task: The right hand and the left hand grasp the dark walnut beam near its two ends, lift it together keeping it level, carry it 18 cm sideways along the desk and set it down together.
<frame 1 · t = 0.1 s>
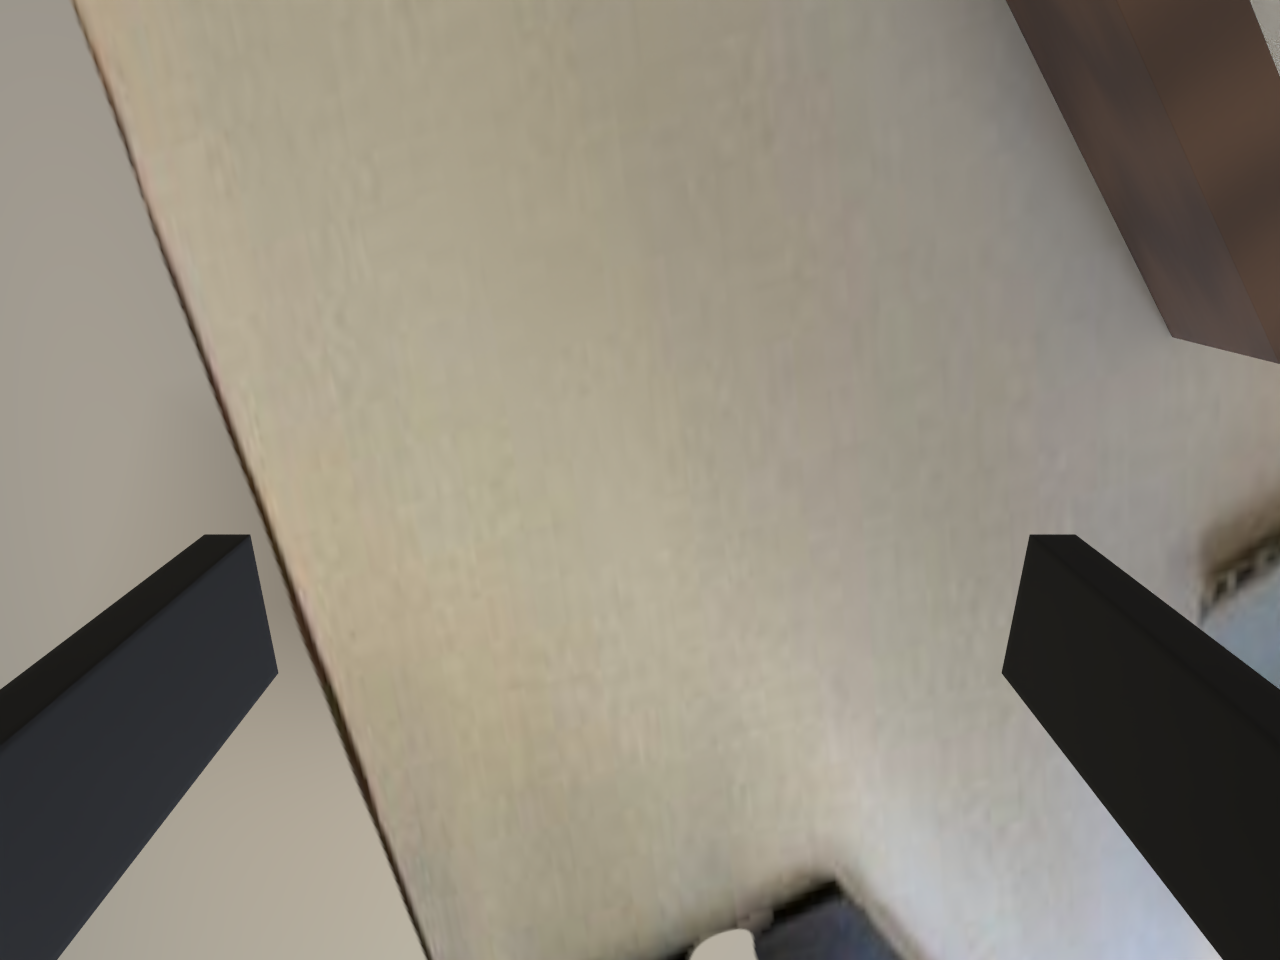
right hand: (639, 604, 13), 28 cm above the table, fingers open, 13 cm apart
walnut beam: (1084, 52, 34), on the table
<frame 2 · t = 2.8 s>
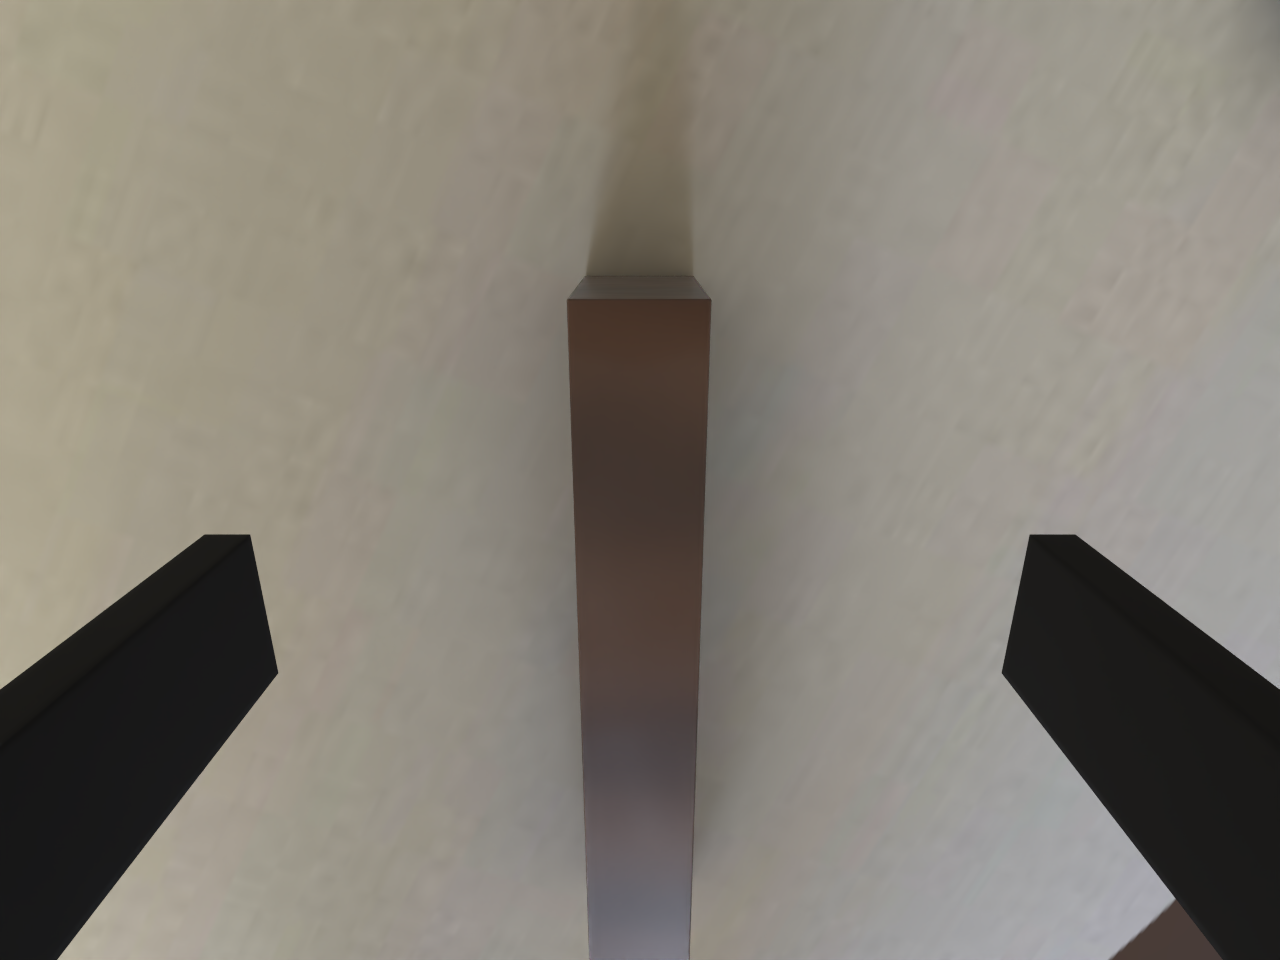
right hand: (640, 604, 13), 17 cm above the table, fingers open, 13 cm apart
walnut beam: (639, 631, 32), on the table
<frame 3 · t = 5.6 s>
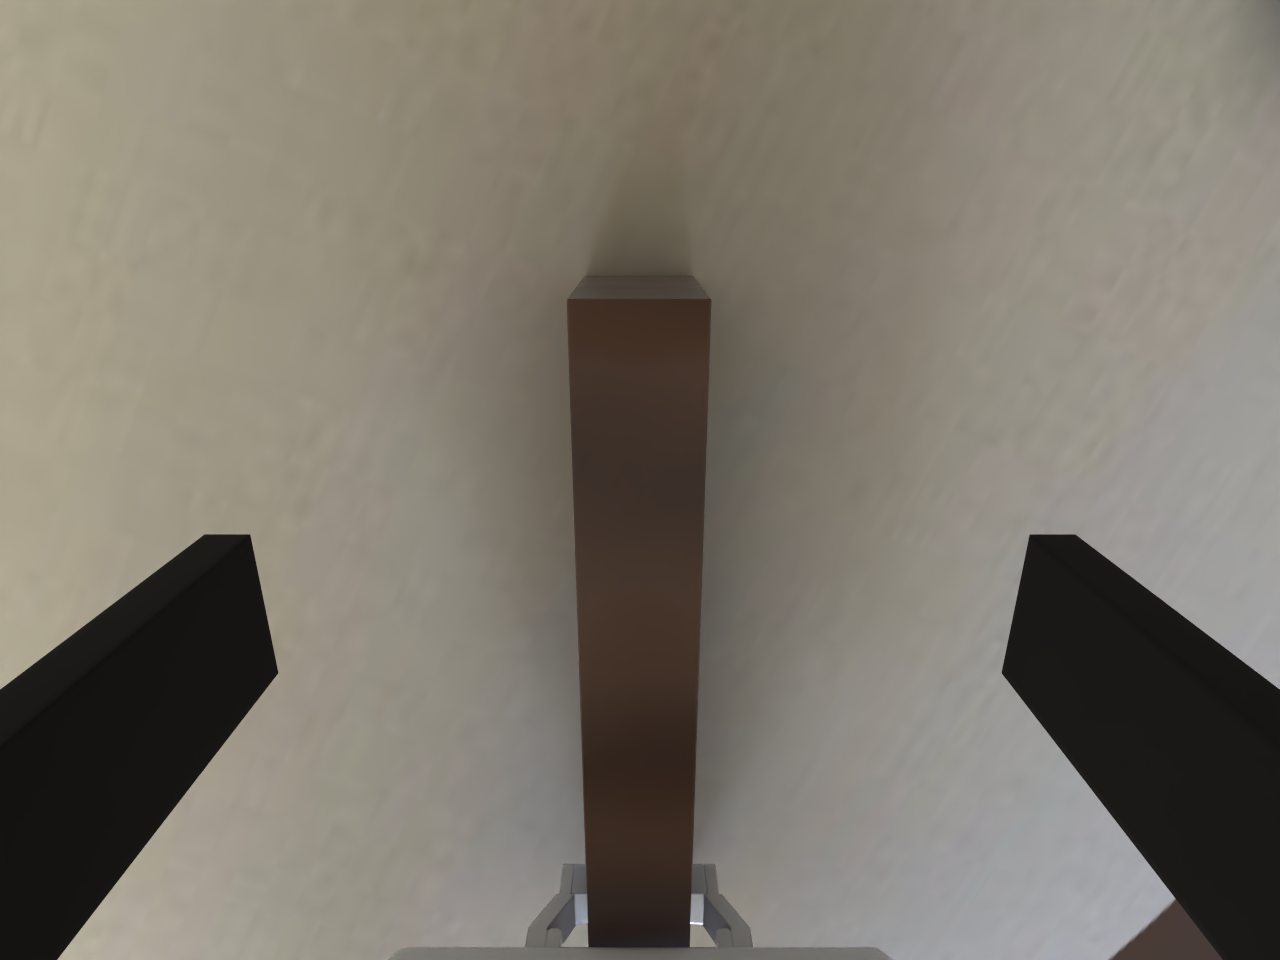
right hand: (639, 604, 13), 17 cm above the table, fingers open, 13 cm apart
walnut beam: (639, 631, 32), on the table, touching left hand
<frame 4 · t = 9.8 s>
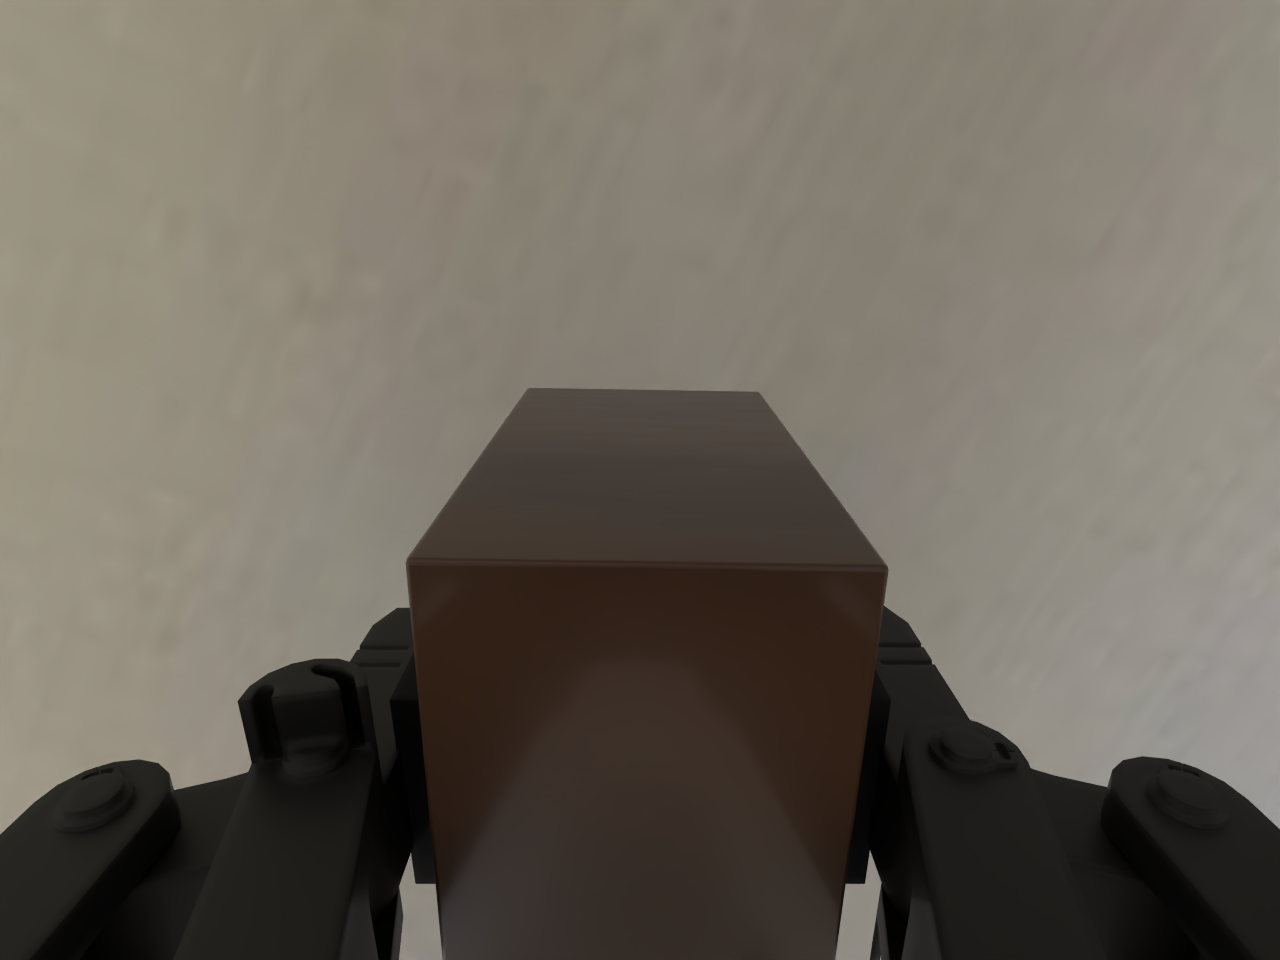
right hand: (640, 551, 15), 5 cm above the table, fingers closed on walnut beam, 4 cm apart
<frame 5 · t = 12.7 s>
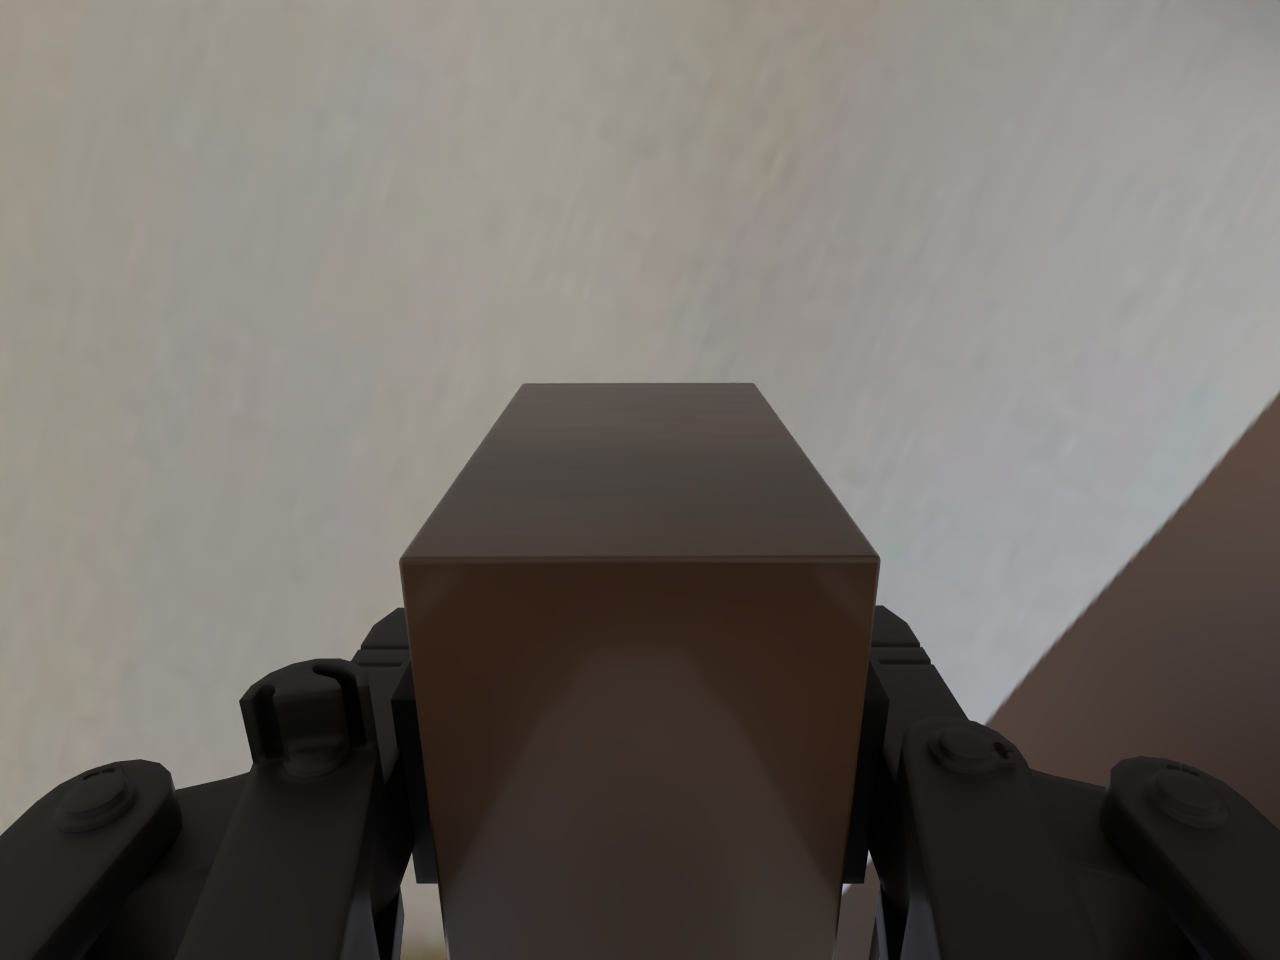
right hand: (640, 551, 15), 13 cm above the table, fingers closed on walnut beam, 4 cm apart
when the left hand's fingers open (4 cm above the table, at t = 15.7 s): walnut beam drops 1 cm, on the table.
when the right hand's fingers open (0 cm above the table, at t = 15.7 s): walnut beam drops 1 cm, on the table.
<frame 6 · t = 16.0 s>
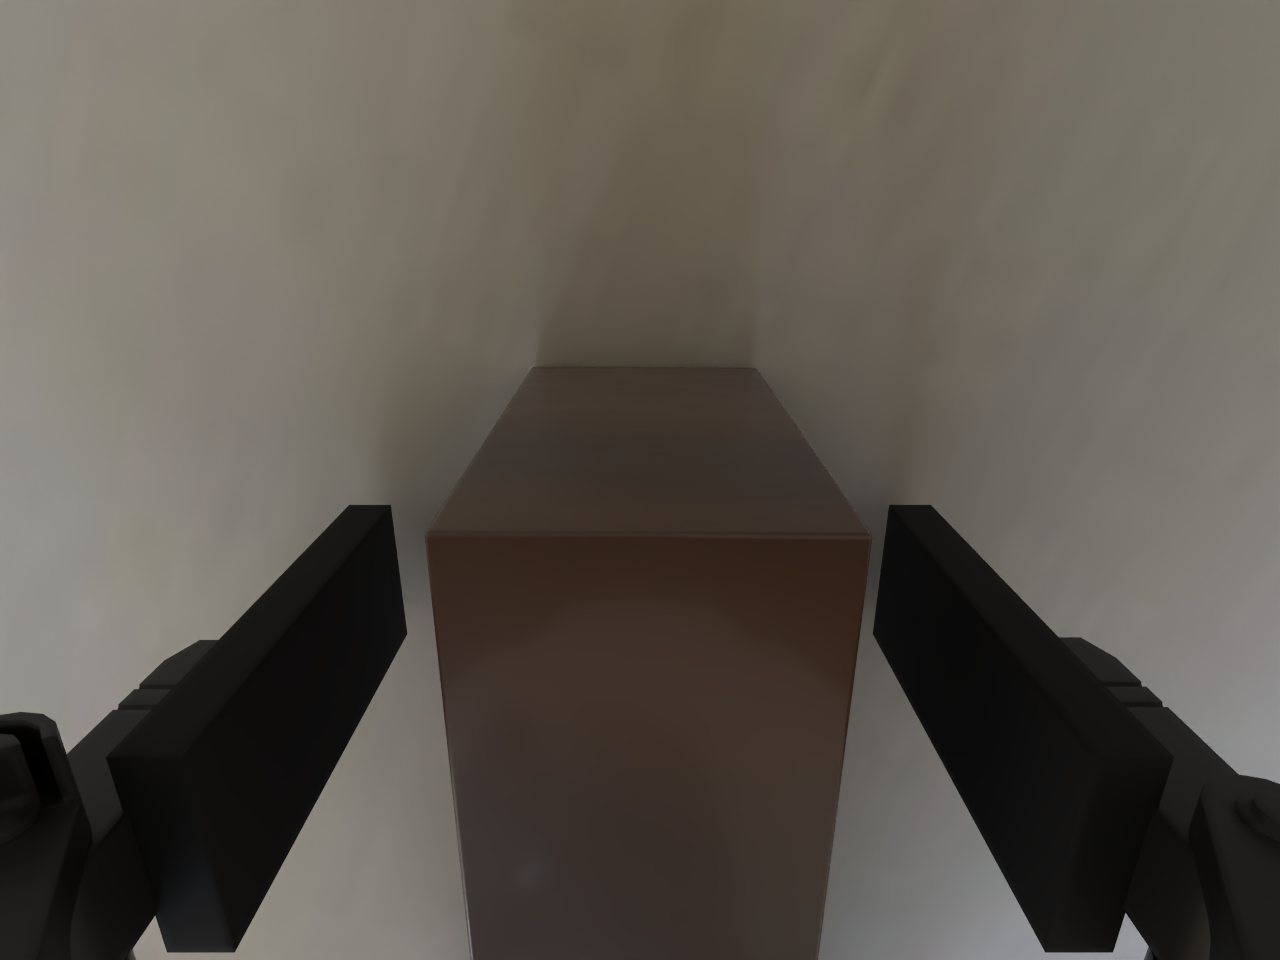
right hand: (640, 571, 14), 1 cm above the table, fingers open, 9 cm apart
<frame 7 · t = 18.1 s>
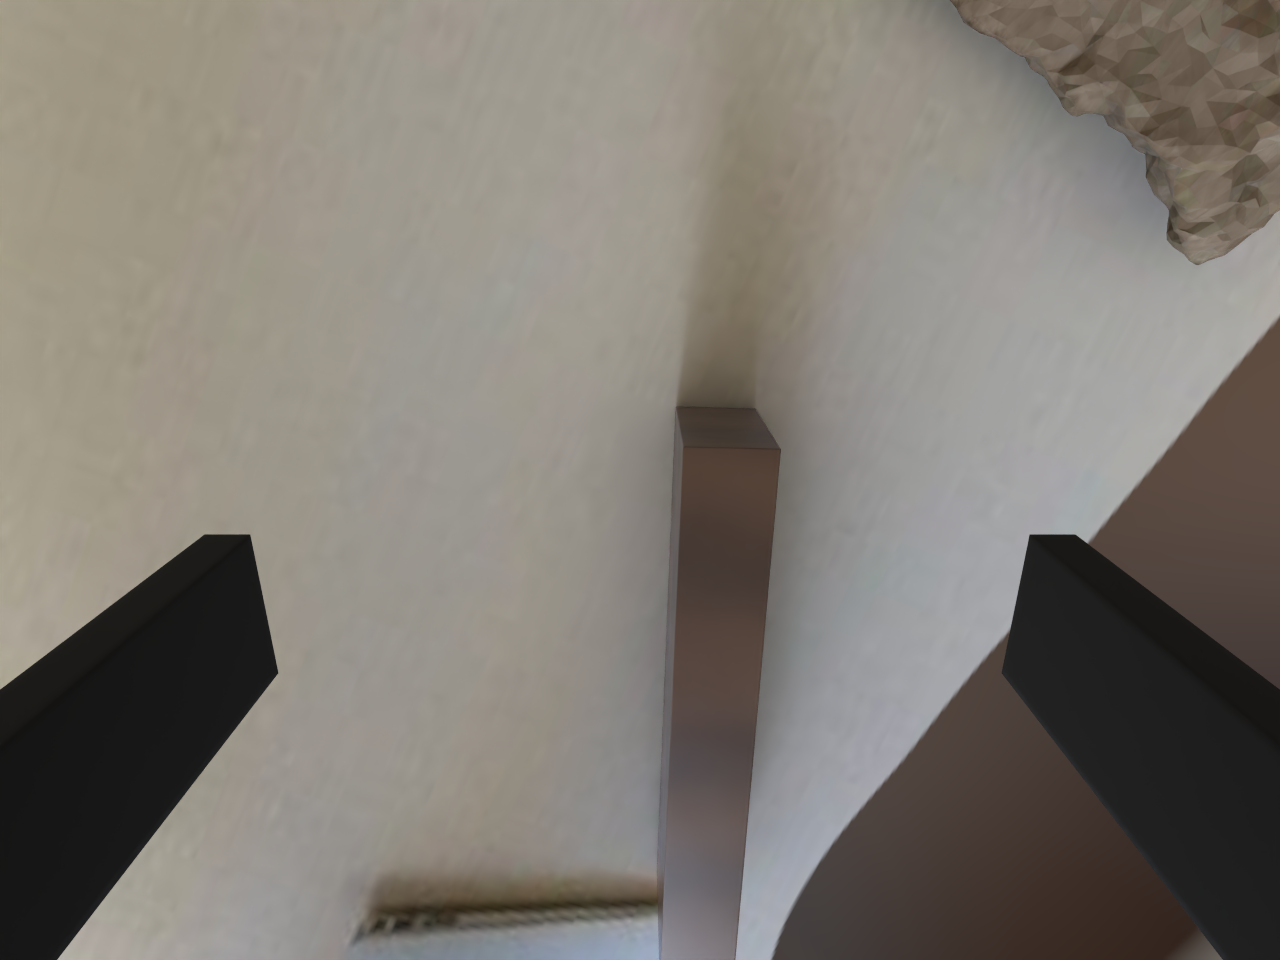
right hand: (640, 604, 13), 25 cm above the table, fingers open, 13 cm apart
walnut beam: (700, 667, 42), on the table
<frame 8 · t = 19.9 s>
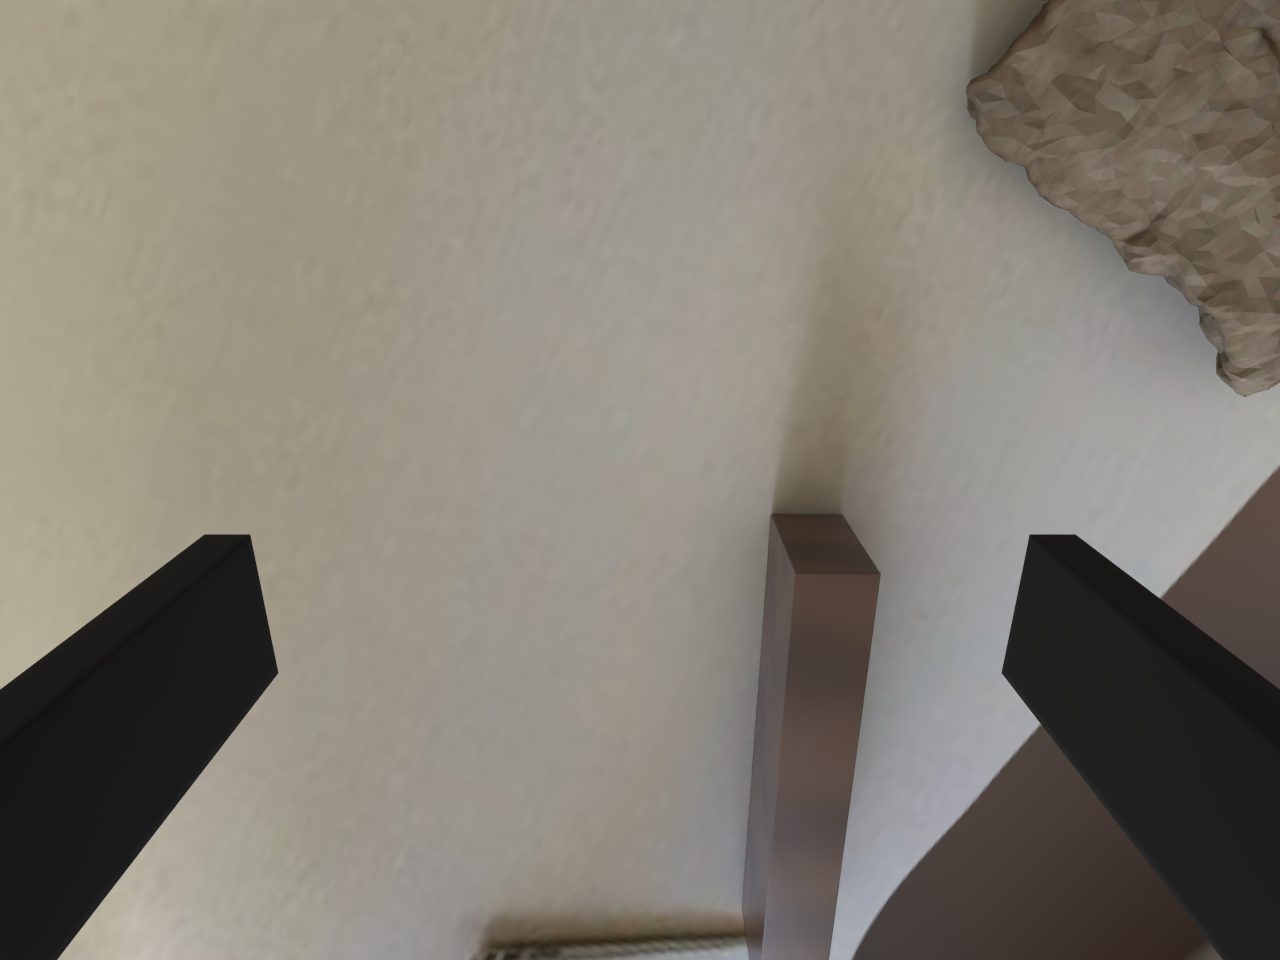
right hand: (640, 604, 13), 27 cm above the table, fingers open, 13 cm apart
walnut beam: (786, 734, 46), on the table
stone: (1193, 138, 34), on the table
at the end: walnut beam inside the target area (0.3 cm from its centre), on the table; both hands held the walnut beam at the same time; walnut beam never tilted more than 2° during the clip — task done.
